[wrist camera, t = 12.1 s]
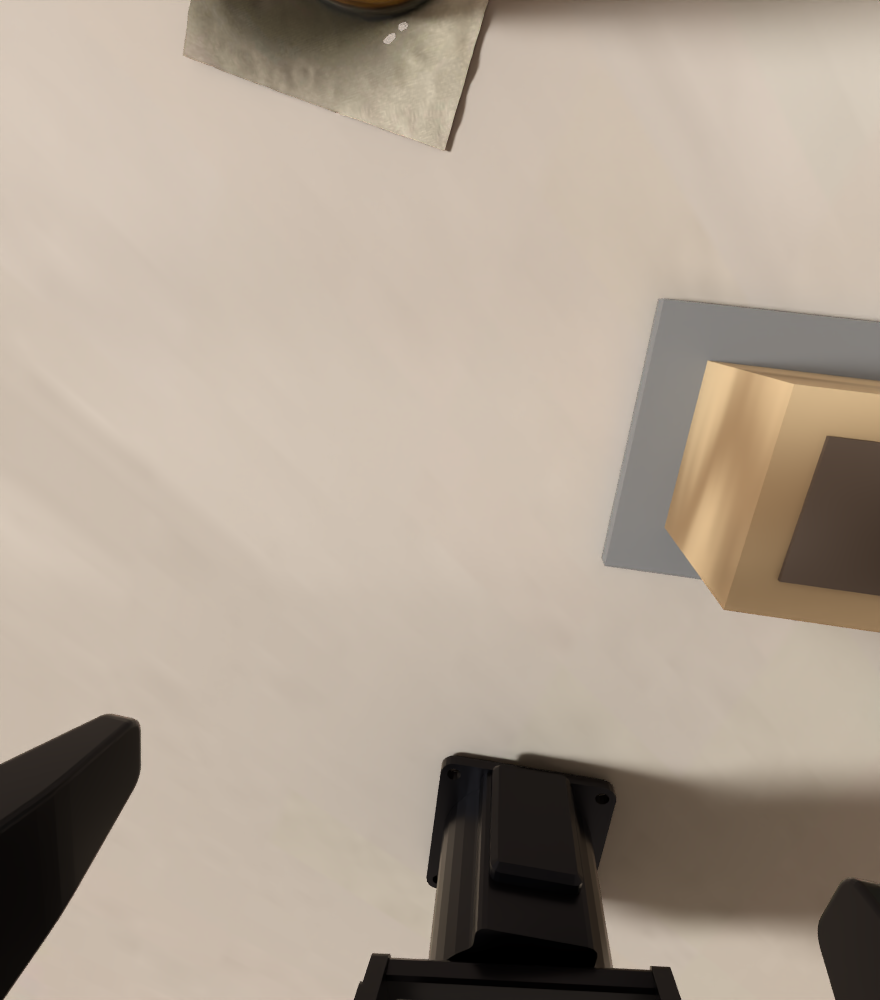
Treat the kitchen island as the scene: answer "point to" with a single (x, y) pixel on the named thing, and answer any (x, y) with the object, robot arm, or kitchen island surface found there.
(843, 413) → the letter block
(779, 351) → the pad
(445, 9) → the condiment
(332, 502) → the kitchen island surface
